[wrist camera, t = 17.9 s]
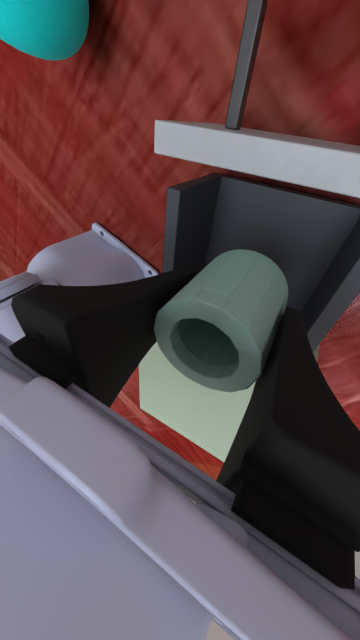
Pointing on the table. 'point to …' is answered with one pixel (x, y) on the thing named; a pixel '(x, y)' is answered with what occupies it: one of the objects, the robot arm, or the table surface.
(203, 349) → the jar
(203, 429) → the green drawer cabinet
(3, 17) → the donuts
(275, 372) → the robot arm
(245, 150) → the drawer
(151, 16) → the table surface
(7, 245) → the table surface
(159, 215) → the table surface
